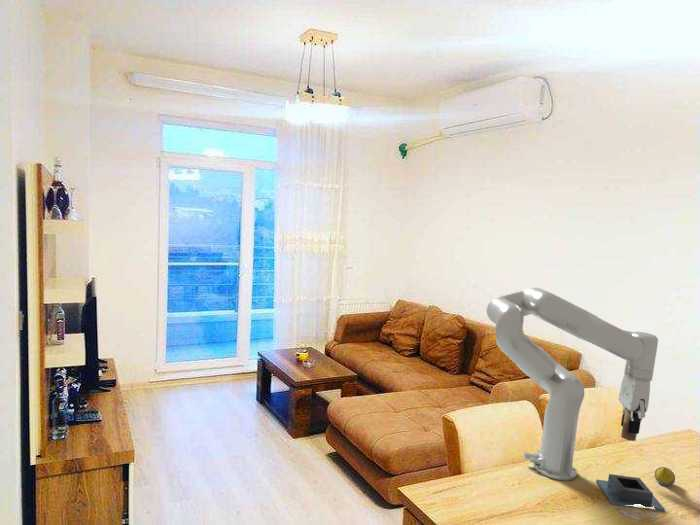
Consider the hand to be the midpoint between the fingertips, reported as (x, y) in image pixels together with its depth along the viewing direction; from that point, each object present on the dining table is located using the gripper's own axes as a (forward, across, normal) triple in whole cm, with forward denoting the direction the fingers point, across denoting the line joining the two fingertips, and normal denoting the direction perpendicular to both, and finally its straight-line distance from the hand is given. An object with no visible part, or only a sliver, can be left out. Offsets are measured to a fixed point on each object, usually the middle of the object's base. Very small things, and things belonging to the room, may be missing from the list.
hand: (629, 429), depth 157 cm
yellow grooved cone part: (+15, +3, +11) cm, 19 cm away
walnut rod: (+3, 0, 0) cm, 3 cm away
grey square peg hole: (+15, +13, -3) cm, 20 cm away
